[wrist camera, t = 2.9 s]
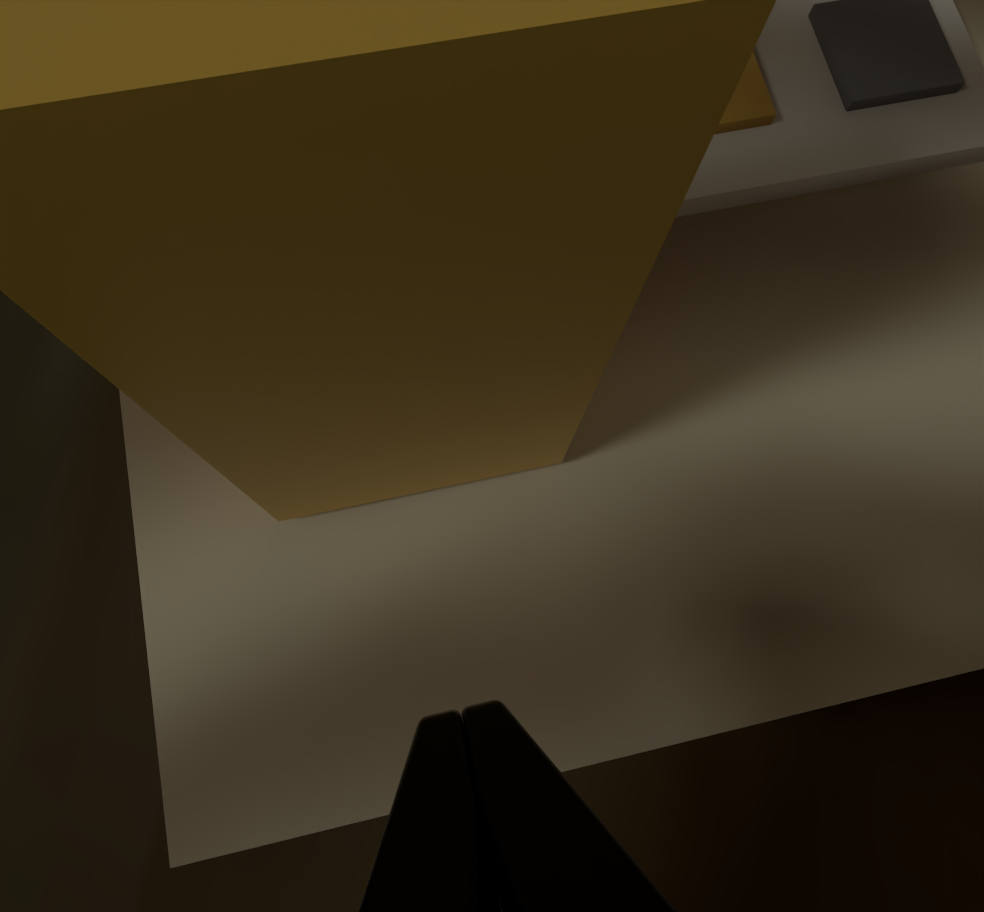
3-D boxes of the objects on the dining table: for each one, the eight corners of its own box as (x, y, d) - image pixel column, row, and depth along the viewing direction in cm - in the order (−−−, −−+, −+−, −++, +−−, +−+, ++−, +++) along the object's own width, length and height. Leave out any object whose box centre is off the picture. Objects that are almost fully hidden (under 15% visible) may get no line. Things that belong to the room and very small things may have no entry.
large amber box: (561, 462, 14) (782, -13, 4) (278, 521, 13) (-184, 137, 4) (510, 263, 15) (597, -481, 5) (246, 311, 14) (-185, -409, 5)
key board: (1568, 513, 16) (1968, 455, 12) (201, 848, 14) (80, 928, 9) (1218, -82, 20) (1423, -287, 16) (112, 89, 18) (-1, -100, 13)
